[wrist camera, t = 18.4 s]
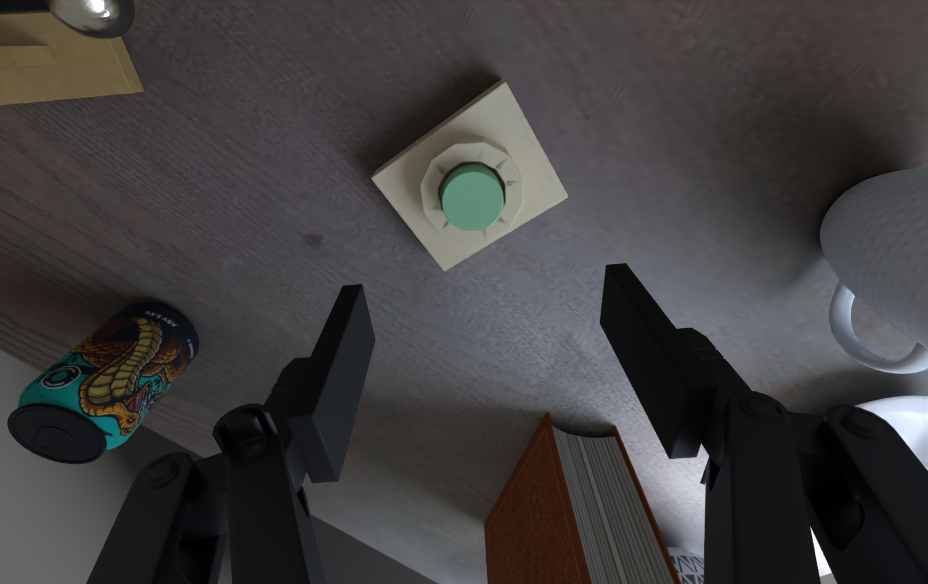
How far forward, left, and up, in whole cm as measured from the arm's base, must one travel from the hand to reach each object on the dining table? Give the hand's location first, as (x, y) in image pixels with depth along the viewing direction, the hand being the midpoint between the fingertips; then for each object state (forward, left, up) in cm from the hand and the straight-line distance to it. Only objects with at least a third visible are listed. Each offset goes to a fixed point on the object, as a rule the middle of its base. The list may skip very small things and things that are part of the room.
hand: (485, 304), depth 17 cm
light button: (0, 0, -14) cm, 14 cm away
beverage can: (+31, -4, -18) cm, 36 cm away
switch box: (0, 0, -18) cm, 18 cm away
